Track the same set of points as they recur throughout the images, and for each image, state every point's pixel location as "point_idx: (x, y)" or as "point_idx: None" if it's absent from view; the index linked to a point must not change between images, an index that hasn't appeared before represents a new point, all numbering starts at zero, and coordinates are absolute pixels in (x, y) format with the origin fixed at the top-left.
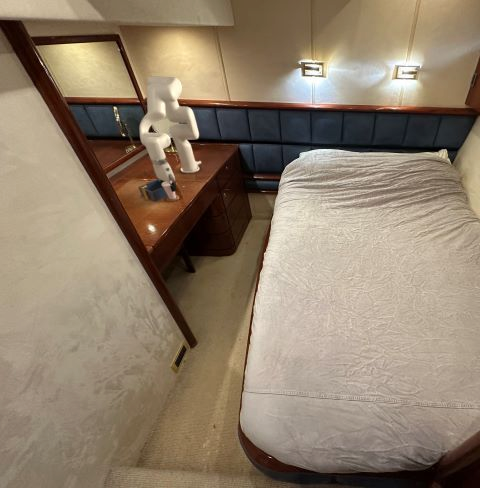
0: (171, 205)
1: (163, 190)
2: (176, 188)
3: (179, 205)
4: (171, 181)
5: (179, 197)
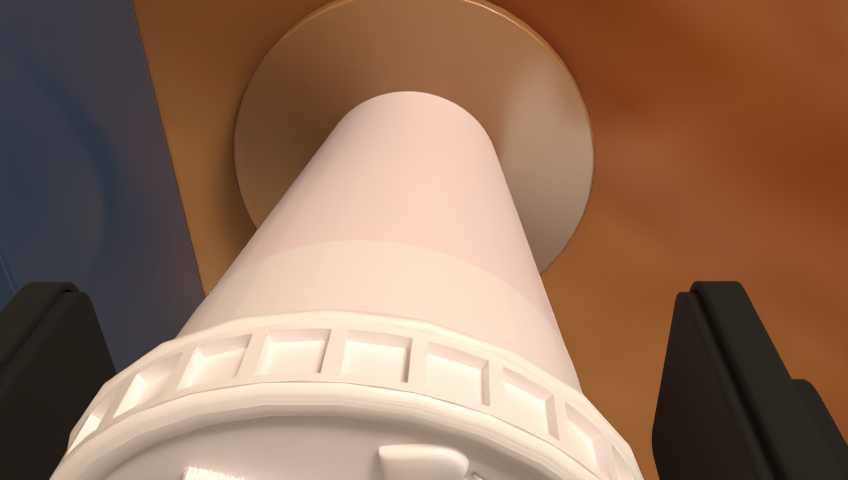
0: (658, 368)
1: (100, 313)
2: (762, 336)
3: (839, 291)
4: (294, 411)
5: (549, 48)
